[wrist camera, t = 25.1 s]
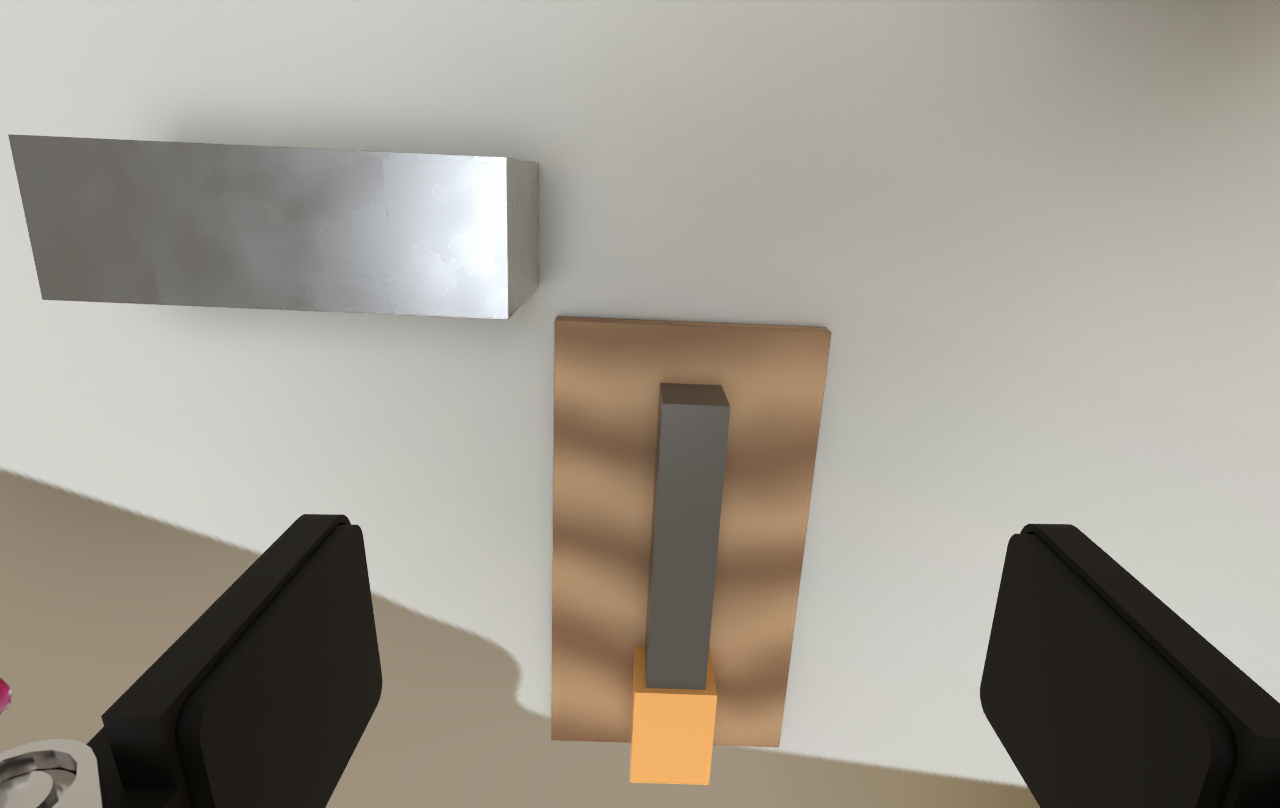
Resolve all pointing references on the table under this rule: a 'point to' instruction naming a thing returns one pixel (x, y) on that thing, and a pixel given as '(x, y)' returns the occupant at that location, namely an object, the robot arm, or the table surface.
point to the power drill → (5, 695)
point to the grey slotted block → (279, 227)
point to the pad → (623, 506)
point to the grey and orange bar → (681, 591)
